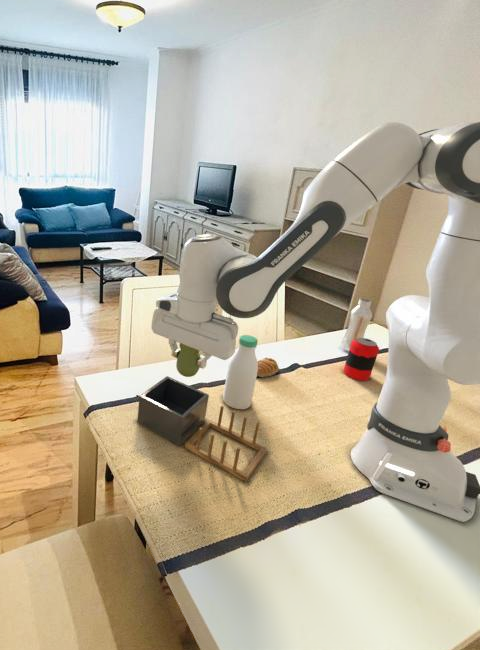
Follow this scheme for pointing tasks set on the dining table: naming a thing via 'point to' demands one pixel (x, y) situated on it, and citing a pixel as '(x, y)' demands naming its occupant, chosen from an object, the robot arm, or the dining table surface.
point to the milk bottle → (241, 374)
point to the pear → (187, 361)
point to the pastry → (267, 367)
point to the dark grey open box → (172, 409)
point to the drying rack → (232, 434)
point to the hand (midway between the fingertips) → (188, 361)
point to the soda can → (361, 359)
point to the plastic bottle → (357, 323)
